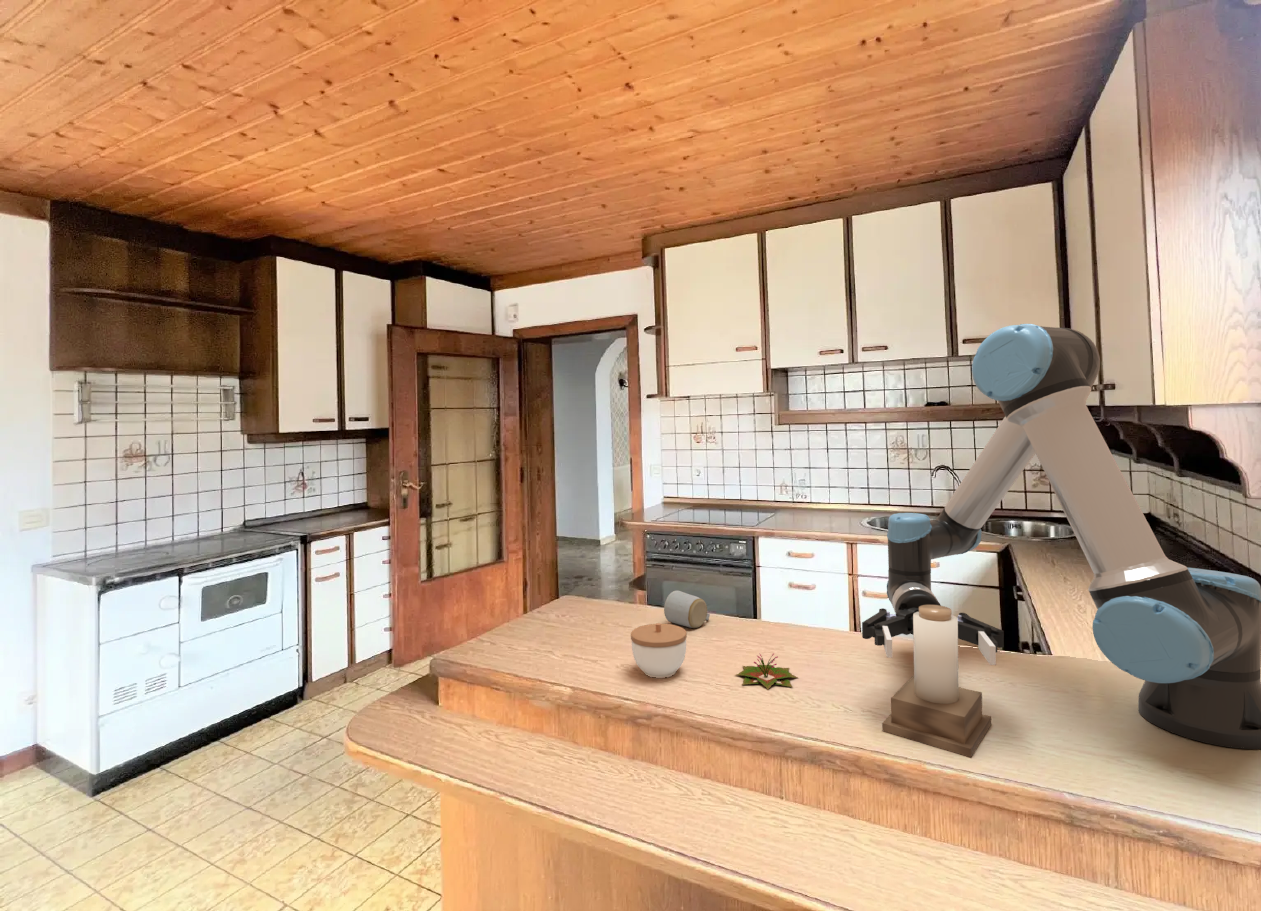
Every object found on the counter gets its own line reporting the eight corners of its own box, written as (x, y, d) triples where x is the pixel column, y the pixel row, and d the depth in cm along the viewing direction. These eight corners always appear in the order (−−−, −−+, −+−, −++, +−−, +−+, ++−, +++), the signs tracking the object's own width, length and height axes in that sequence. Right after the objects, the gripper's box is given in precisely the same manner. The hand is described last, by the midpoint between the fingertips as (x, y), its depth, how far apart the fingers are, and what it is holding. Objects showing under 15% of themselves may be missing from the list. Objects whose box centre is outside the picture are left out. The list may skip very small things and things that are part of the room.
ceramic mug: (690, 632, 139) (690, 599, 139) (663, 625, 145) (662, 593, 144) (718, 622, 147) (717, 590, 146) (691, 615, 152) (690, 585, 152)
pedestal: (991, 724, 93) (990, 691, 93) (971, 757, 84) (970, 721, 84) (908, 702, 101) (908, 672, 101) (882, 730, 92) (881, 698, 92)
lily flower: (734, 665, 120) (733, 643, 120) (797, 668, 118) (796, 644, 118) (732, 691, 109) (732, 666, 108) (802, 695, 106) (801, 669, 106)
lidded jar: (658, 688, 110) (656, 637, 109) (620, 671, 118) (619, 624, 118) (699, 671, 117) (697, 623, 116) (661, 657, 125) (660, 611, 125)
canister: (962, 692, 93) (961, 607, 92) (953, 707, 88) (951, 617, 88) (920, 683, 97) (919, 600, 96) (909, 696, 92) (907, 610, 91)
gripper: (996, 634, 106) (1038, 685, 85) (844, 625, 113) (849, 670, 93) (996, 591, 105) (1038, 632, 85) (843, 585, 113) (848, 621, 92)
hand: (940, 652), depth 89 cm, fingers open, 13 cm apart
